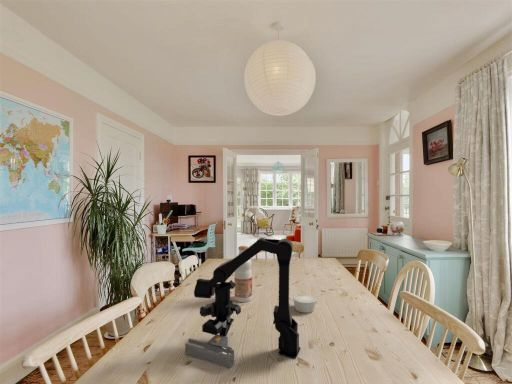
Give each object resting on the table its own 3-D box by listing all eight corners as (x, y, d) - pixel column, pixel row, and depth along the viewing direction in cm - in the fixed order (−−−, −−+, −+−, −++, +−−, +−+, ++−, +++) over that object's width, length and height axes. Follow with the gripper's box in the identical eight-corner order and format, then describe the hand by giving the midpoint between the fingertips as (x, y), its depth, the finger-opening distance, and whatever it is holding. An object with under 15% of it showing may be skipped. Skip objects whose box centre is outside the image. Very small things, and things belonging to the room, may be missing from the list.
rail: (239, 356, 91) (239, 343, 91) (230, 368, 85) (230, 354, 85) (196, 345, 98) (196, 332, 98) (185, 355, 92) (185, 341, 93)
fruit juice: (231, 298, 143) (231, 246, 143) (246, 294, 148) (246, 244, 148) (240, 304, 135) (239, 249, 135) (255, 300, 140) (255, 247, 141)
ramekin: (302, 302, 137) (302, 292, 137) (320, 309, 129) (320, 298, 129) (288, 309, 130) (288, 298, 130) (307, 316, 122) (307, 305, 122)
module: (227, 348, 97) (227, 335, 97) (217, 359, 90) (217, 345, 90) (216, 344, 99) (216, 332, 99) (205, 355, 92) (205, 342, 92)
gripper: (217, 287, 111) (217, 324, 111) (189, 305, 94) (189, 348, 94) (241, 291, 106) (241, 329, 106) (216, 311, 89) (216, 356, 89)
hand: (223, 340), depth 99 cm, fingers closed
